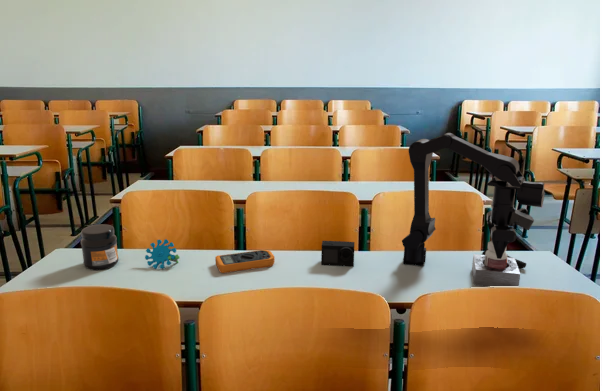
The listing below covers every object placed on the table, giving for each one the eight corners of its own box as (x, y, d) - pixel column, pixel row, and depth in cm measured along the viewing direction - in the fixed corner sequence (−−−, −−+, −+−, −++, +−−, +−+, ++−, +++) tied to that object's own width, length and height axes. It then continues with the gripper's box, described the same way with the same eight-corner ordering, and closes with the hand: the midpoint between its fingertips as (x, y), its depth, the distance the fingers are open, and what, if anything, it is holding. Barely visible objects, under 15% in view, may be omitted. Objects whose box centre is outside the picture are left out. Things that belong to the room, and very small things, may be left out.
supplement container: (119, 268, 161) (115, 232, 157) (82, 273, 157) (78, 236, 154) (118, 256, 170) (115, 222, 167) (84, 260, 167) (80, 225, 164)
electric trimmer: (520, 273, 159) (521, 264, 158) (480, 256, 172) (481, 247, 171) (528, 271, 161) (529, 261, 160) (488, 254, 174) (489, 245, 173)
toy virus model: (138, 263, 161) (152, 234, 165) (145, 270, 166) (158, 242, 170) (170, 271, 158) (183, 242, 163) (176, 278, 163) (188, 250, 168)
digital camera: (320, 267, 162) (320, 246, 161) (321, 260, 168) (322, 240, 166) (353, 268, 161) (354, 247, 159) (353, 261, 167) (354, 241, 165)
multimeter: (276, 267, 163) (276, 257, 162) (220, 275, 157) (219, 265, 156) (269, 257, 170) (268, 247, 170) (214, 264, 165) (214, 254, 164)
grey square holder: (474, 285, 150) (475, 269, 148) (471, 268, 161) (473, 254, 160) (518, 290, 147) (520, 274, 146) (512, 273, 158) (514, 258, 157)
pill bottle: (508, 282, 152) (513, 246, 149) (490, 284, 150) (494, 248, 147) (496, 273, 158) (500, 239, 155) (478, 275, 156) (482, 240, 153)
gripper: (539, 213, 137) (532, 268, 141) (528, 195, 154) (522, 244, 158) (495, 210, 139) (489, 263, 144) (489, 192, 157) (484, 240, 161)
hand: (497, 252), depth 152 cm, fingers open, 9 cm apart
